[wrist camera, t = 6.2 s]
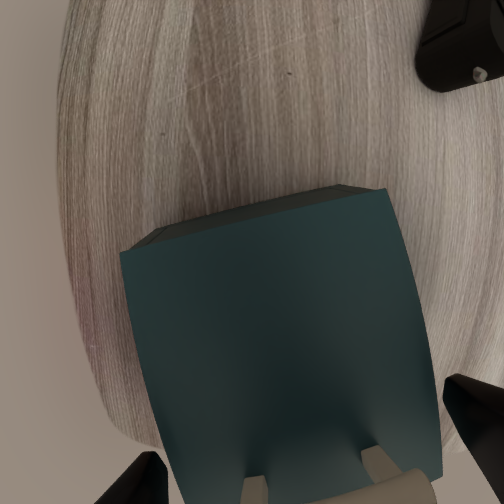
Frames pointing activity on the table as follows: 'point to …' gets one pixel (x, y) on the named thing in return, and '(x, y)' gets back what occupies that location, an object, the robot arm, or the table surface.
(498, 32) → the camera
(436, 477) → the lid
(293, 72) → the table surface
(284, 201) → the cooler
